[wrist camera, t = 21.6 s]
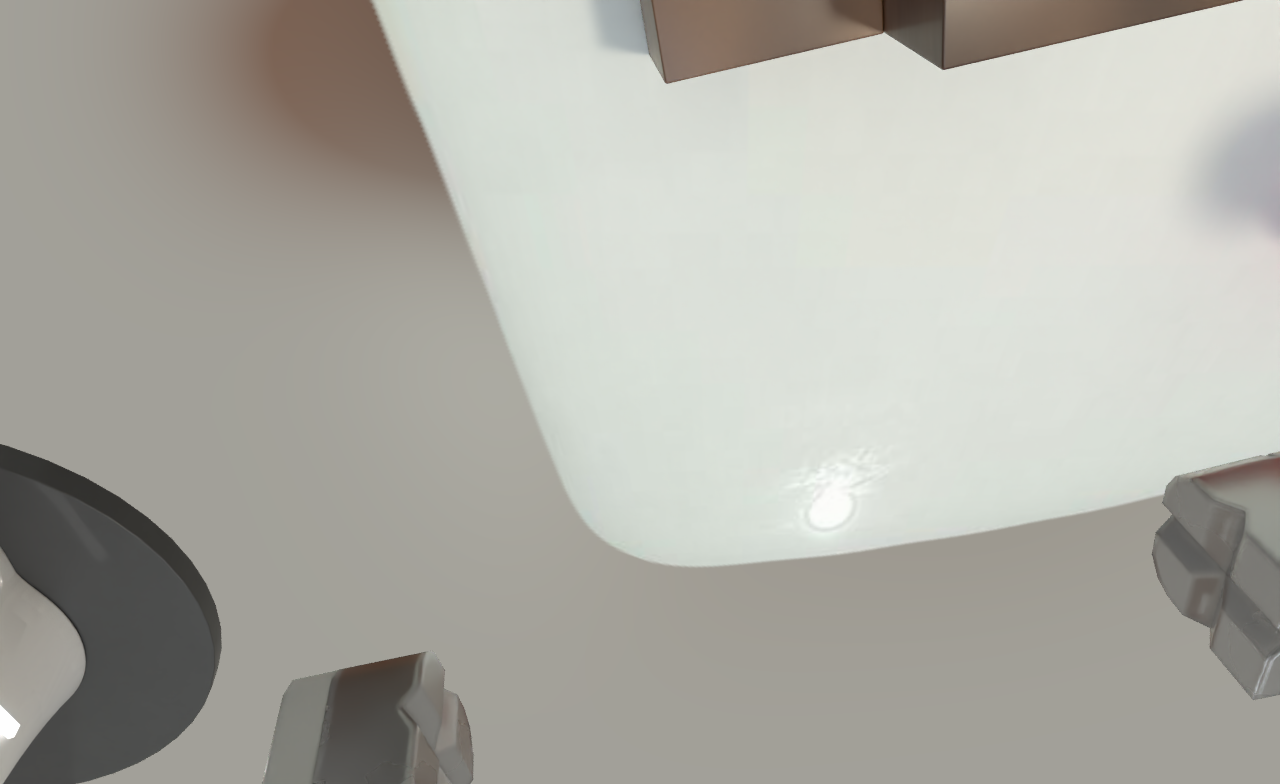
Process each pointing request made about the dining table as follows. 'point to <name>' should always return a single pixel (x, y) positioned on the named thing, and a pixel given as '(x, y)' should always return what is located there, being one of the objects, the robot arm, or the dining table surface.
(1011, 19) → the step shelf
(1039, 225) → the dining table surface
